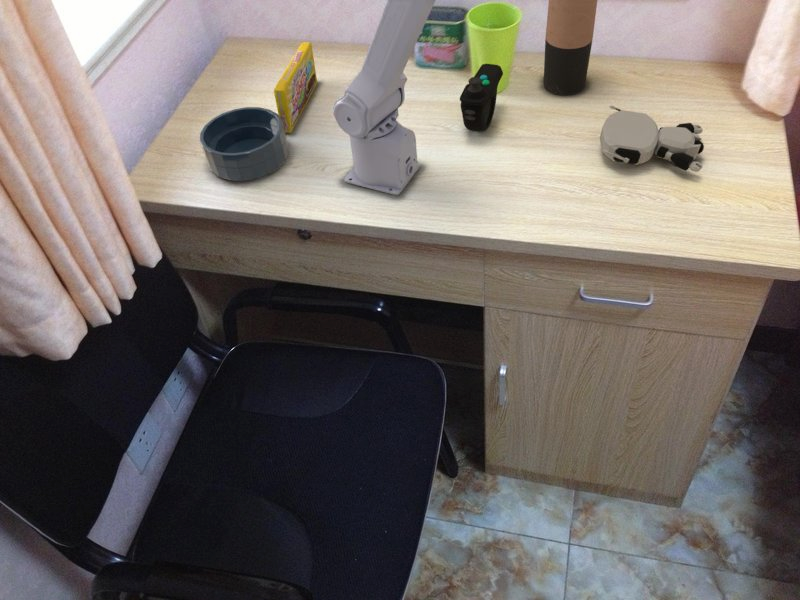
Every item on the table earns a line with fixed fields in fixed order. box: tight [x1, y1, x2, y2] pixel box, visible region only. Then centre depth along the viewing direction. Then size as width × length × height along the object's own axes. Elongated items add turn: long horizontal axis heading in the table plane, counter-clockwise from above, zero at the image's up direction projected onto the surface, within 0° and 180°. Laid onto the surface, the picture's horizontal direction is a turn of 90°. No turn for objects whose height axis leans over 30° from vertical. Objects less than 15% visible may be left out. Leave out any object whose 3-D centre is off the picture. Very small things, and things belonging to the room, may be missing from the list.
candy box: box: [273, 41, 318, 134], centre depth 119 cm, size 16×2×8 cm, turn 168°
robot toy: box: [599, 104, 705, 173], centre depth 104 cm, size 12×4×15 cm
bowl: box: [199, 106, 290, 182], centre depth 111 cm, size 13×13×6 cm
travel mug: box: [543, 0, 598, 96], centre depth 113 cm, size 8×8×20 cm
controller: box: [459, 63, 504, 133], centre depth 111 cm, size 4×12×10 cm, turn 158°
